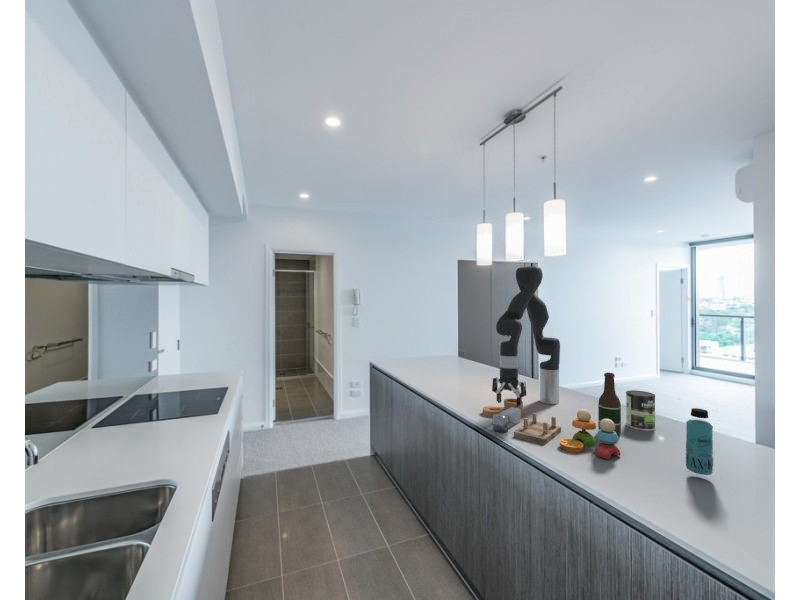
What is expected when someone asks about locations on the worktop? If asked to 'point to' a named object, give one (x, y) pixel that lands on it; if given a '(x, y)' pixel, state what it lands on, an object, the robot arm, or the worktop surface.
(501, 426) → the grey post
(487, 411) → the bracket
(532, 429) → the rack
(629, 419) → the coffee can
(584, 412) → the wooden stacking toy
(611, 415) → the beer bottle
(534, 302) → the robot arm
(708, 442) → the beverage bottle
